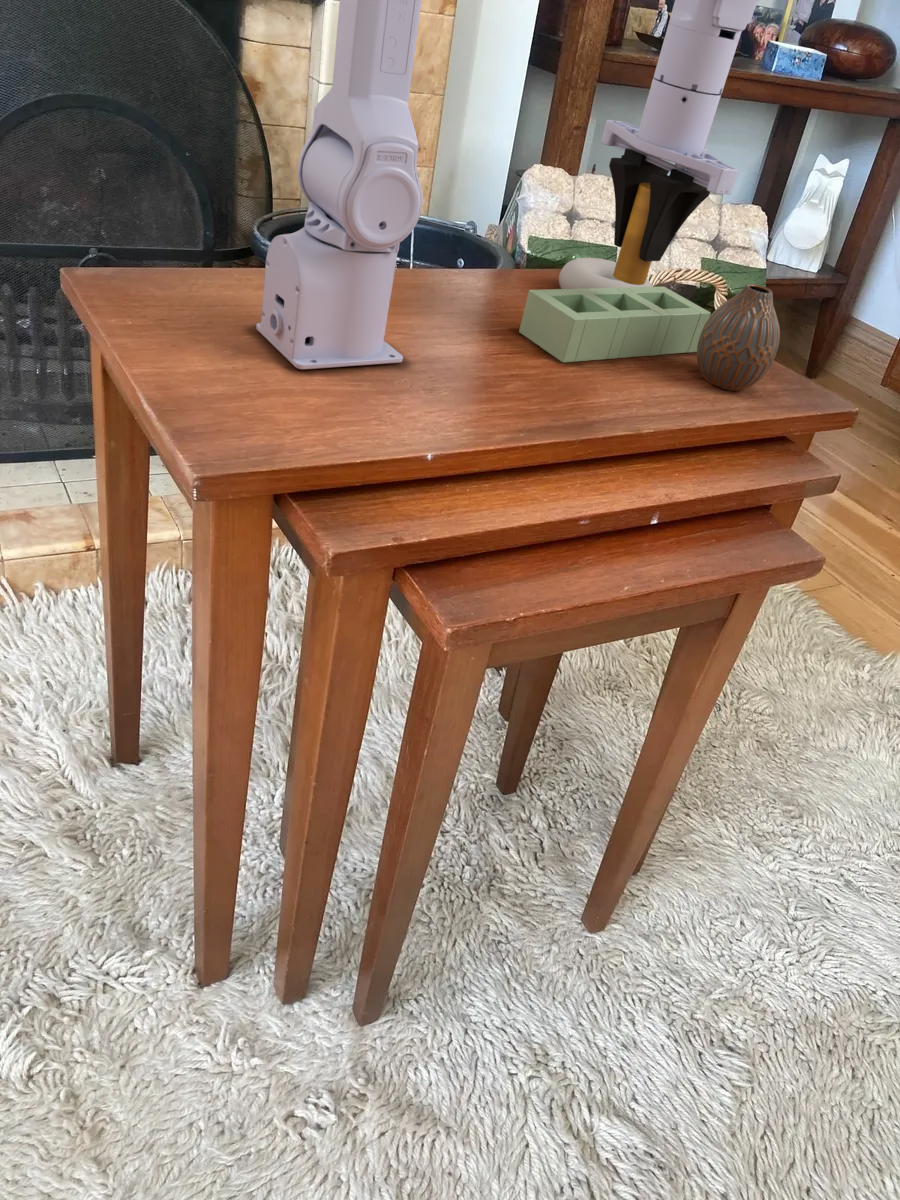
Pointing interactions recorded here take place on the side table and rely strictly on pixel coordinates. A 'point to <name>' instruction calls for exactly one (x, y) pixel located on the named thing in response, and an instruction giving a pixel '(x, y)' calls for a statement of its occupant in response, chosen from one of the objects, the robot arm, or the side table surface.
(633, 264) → the peg
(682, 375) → the side table surface
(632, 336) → the peg block
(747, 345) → the vase
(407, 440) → the side table surface
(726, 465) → the side table surface
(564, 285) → the donut
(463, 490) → the side table surface
